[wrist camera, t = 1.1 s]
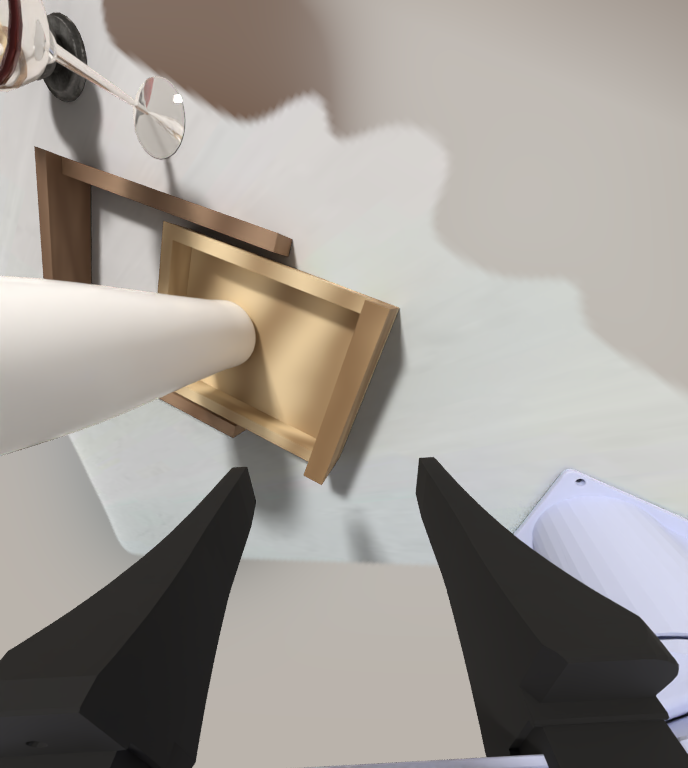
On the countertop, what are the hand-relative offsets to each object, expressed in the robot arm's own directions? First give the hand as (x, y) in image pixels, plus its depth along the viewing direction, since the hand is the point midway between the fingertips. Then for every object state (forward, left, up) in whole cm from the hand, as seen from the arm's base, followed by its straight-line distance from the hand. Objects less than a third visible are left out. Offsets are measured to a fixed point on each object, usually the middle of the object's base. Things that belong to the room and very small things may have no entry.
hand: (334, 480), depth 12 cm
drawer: (+10, 0, -10) cm, 15 cm away
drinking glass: (+13, 0, -10) cm, 17 cm away
